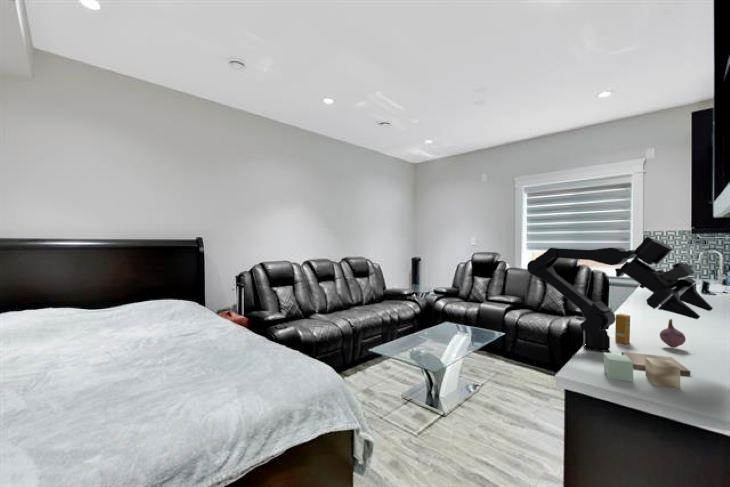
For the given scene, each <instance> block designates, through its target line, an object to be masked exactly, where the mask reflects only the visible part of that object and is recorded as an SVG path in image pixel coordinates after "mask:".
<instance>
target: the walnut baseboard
mask: <svg viewBox="0 0 730 487" xmlns="http://www.w3.org/2000/svg"><path fill="white" fill-rule="evenodd" d="M621 355H626V356H627V357H628V358H629V359H630V360H631V361H632V362H633V369H636V370H644V371H646V369H645V357H646V358H655V359H663V360H670V361H672V362H673V363H674V364H675V365H677V366H678V367H679V368H680V376H681V375H682V376H683V375H684V376H688V377H689V376H691V370H689V368H687V367H685V366H684V365H683V364H681V363H680V362H679V361H677V359H676V358H673V357H672V356H663V355H657V354H655V355H654V354H647V353H638V352H637V353H636V352H629V351H621Z"/></svg>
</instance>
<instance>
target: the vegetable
mask: <svg viewBox="0 0 730 487" xmlns="http://www.w3.org/2000/svg"><path fill="white" fill-rule="evenodd" d="M659 338H660V340H661V341H662V342H663V343H664V344H665V345H667V346H668V347H670V348H671V349H675V348H678V347H680V346H682V345H684V344H685V343H686V340H687V339H686V336H685V334H684V333H683V332H681V331H680V330H678V329H677V328H675V327H674V325H673V319H672V318H670V319H668V326H667V327H666V328H664V329H662V330H661V331H660V332H659Z"/></svg>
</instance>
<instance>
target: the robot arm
mask: <svg viewBox="0 0 730 487" xmlns="http://www.w3.org/2000/svg"><path fill="white" fill-rule="evenodd" d="M673 250H674V248H672V247H671V246H669V245H668V244H667V243H665V242H662V241H659V240H657V239H655V238H652V237H650V236H646V237H645V238H644V239H643V240H642V242H641V243H640V244H639V245H638V246H637V247H636V249H629V250H626V249H625V248H623V247H620V246H619V247H603V248H595V249H589V248H587V249H586V248H583V249H582V248H566V247H565V248H562V247H558V246H557V247H555V246H554V247H549V248H548V249H547V250H546V251H545V252H543V253H541V254H540V255H538V256H537V257H536V258H535V259H532V260H530V261H529V262H528V263H527V264H526V268H527V272H528V273H529V274H530V275H532V276H534V277H535V278H537V279H539V280H543V281H545V282H546V283H548V284H549V285H550V286H551V287H553V288H554V289H555V290H556V291H557V292H559V293H560V294H561V295H562V296H563V297H564V298H566V299H567V300H568V301H570V302H571V303H572V304H573V305H574V306H575V307H577V308H578V310H580V313H581V314H582V316H583V318H584V319H585V320H583V321H582V322H581V323H580V324H579V325H580V326H579V327H580V328H581V331H583V342H582V345H583V347H584V349H585V350H592V351H600V352H606V353H609V352H610V348H611V346H610V345H611V344H610V343H611V342H610V341H611V340H610V338H611V336H609V334H608V331H607V330H609V328H610V326H612V325H613V324H615V323H616V314H615V313H614V311H613V308H611V307H608V306H607V305H606V304H605V302H603V301H602V300H599V301H592V300H591V299H590V298H588V297H586V296H585V295H584V294H583V293H582V292H581V291H579V290H578V289H577V288H575V287H574V286H573V285H571V284H570V283H569V282H568V281H566V280H565V279H564V278H562V276H560V275H558V274H557V272H556V271H555V268H554V265H555V264H556V263H557V262H558V260H559V259H568V260H569V259H570V260H580V261H581V260H582V261H583V260H584V261H585V260H586V261H592V262H595V263H599V264H604V265H609V266H618V265H622V266H621V267H620V268H619V267H618V268H617V267H616V268H615V269H614V270H615V276H616V278H620V277H624V275H626V276H628V277H629V278H630V279H632V280H633V281H635V282H637V283H638V284H639V285H638V287H640V288H641V289H647V290H648V291H650V292H651V293H652V294H651V295H650V296H649V297H648V298H646V300H645V301H646V304H647V306H649V307H650V308H652V309H654V310H655V309H657V310H659V311H666V312H669V313H673V314H677V315H680V316H684V317H687V318H691V319H695V320H699V318H701V315H699V313H697V312H696V311H695V310H693V309H692V308H691V307H690V306H688V305H691V306H694V307H696V308H699V309H703V310H705V311H707V312H710V311H713V309H714V308H713V306H711V304H709V303H708V302H707V301H706V300H705V298H704V297H703V296H702V295H700V293H699V292H698V291H697V283H696V281H697V280H694V279H693V278H692V277H689V276H691V275H692V274H695V271H694V270H693V269H692V267H693V266H692V265H689V264H688V263H687V262H686V263H684V262H682V261H679V262H677V263H675V264H673V265H672V267H673V268H672V269H669V270H667V271H664V270H663V269H657V270H656V269H655V268H653V267H651V266H650V265H653V264H655V265H659V264H660V262H662V261H663V260H664V259H665V258H666V257H667V256H668V255H669V254H670V253H671V252H672V251H673ZM631 259H632V260H631ZM628 260H631V261H628ZM685 303H686V304H685ZM687 304H688V305H687ZM585 344H586V345H585ZM584 345H585V346H584Z"/></svg>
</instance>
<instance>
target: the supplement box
mask: <svg viewBox="0 0 730 487" xmlns="http://www.w3.org/2000/svg"><path fill="white" fill-rule="evenodd" d="M614 331H615V332H614V334H615V335H614V336H615V338H614V342H616V343H619V344H623V345H627V344H630V343H631V342H630V341H631V339H630V338H631V315H628V314H624V313H618V314H615V330H614Z"/></svg>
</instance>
